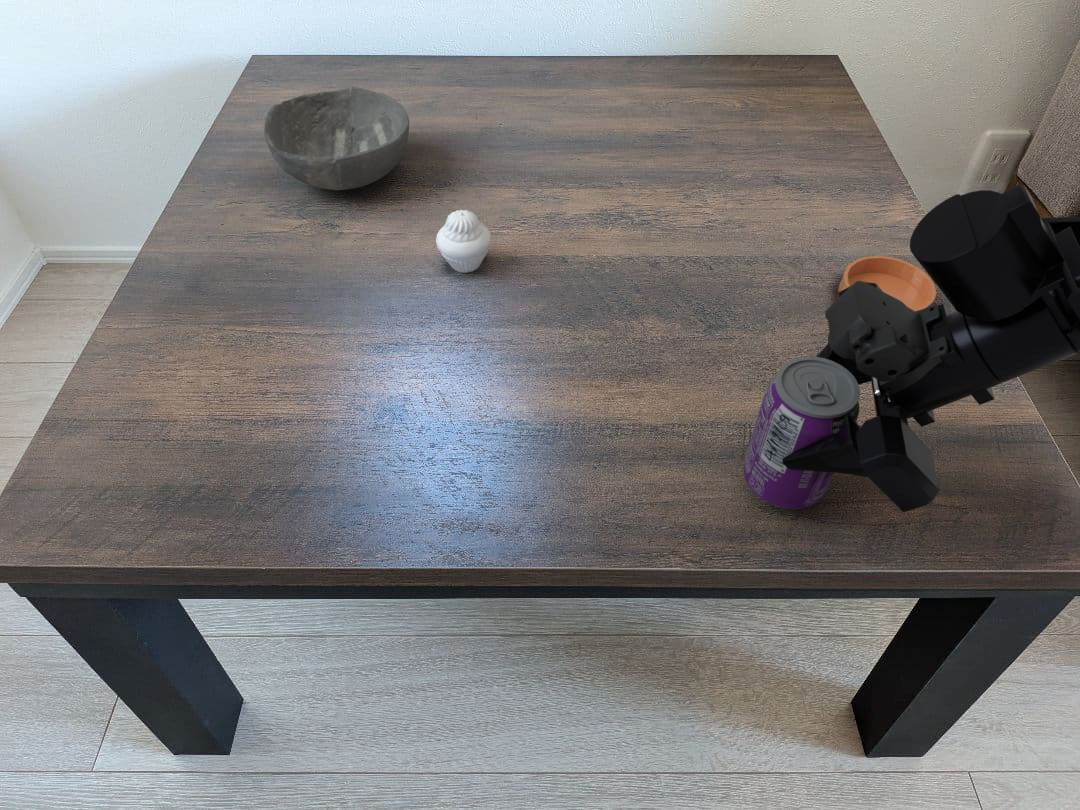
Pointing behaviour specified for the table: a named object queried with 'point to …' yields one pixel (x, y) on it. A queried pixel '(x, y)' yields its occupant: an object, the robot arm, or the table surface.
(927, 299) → the terracotta bowl
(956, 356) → the robot arm
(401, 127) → the bowl
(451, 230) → the muffin
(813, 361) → the beverage can
